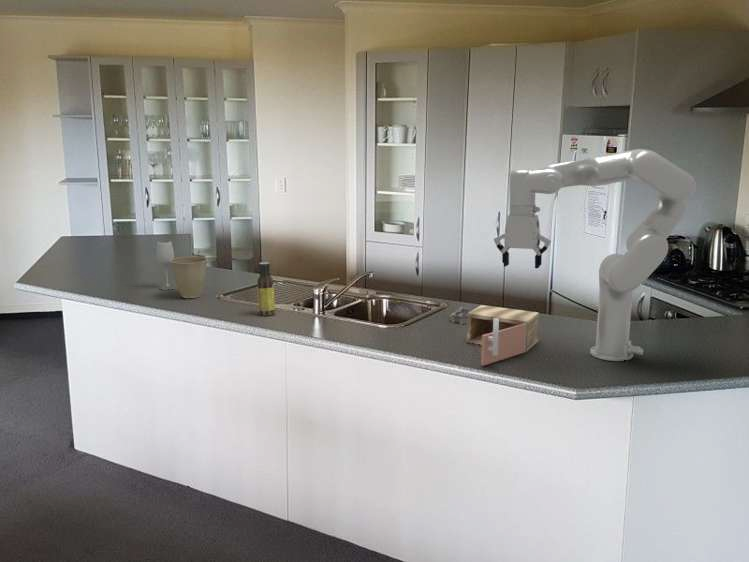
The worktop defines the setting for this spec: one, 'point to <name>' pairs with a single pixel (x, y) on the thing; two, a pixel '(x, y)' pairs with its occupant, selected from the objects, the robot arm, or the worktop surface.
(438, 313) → the worktop surface
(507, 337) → the door
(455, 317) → the egg carton
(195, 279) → the plant pot
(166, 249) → the wineglass
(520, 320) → the cabinet
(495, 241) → the robot arm
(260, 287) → the sauce bottle
